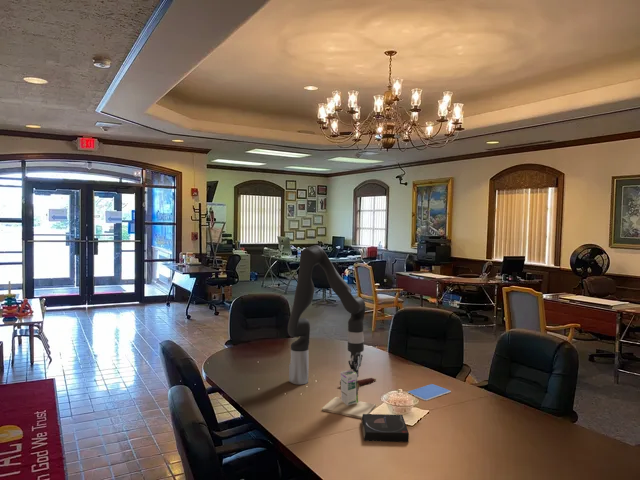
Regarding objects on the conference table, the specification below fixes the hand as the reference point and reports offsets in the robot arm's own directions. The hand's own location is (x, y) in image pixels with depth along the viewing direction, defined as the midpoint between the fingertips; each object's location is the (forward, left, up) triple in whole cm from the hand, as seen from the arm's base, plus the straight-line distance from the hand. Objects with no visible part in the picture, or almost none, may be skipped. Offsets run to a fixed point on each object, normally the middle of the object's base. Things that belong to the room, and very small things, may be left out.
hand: (355, 377), depth 214 cm
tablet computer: (+28, +27, -12) cm, 41 cm away
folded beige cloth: (0, -9, -11) cm, 14 cm away
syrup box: (-1, -5, -10) cm, 11 cm away
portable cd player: (+21, -23, -12) cm, 34 cm away
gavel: (-5, +21, -12) cm, 25 cm away
